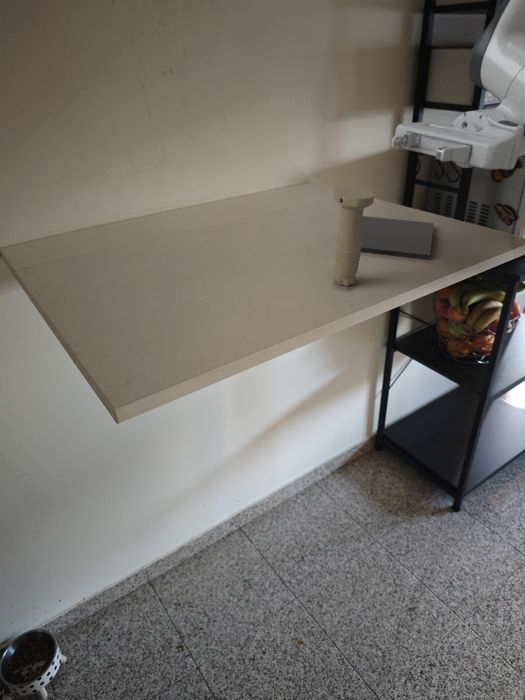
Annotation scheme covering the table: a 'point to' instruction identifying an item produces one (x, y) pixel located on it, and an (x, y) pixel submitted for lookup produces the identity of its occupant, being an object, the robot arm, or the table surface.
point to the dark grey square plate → (396, 237)
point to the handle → (350, 231)
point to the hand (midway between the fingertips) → (416, 149)
